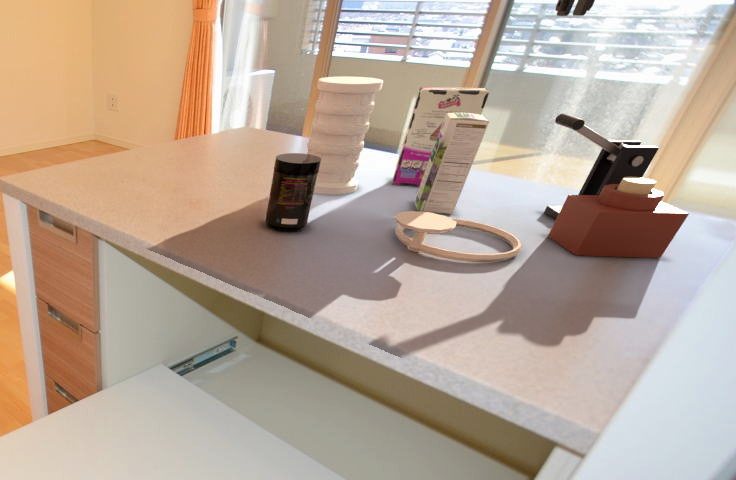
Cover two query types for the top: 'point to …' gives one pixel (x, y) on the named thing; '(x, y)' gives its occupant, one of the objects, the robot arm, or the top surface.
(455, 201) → the syrup box
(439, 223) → the hand towel holder
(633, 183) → the button
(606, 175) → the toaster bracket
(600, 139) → the lever
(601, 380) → the top surface
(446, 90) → the candy bar box
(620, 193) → the box
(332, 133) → the decorative container
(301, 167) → the supplement container
